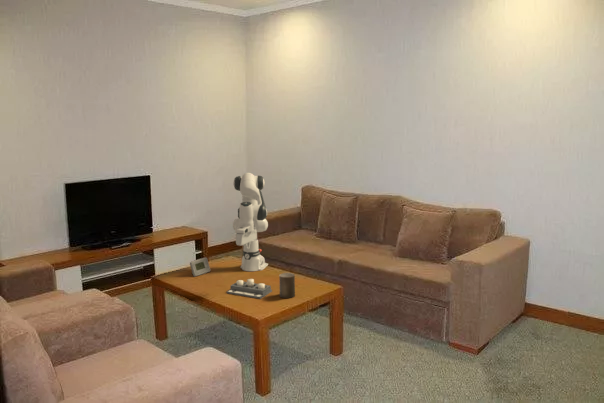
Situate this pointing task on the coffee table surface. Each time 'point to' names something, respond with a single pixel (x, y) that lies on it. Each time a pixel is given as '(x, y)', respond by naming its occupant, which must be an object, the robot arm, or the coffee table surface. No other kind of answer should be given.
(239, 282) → the button
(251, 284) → the button
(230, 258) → the coffee table surface
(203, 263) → the digital clock
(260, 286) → the button
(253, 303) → the coffee table surface
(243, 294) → the board
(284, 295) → the pillar candle
